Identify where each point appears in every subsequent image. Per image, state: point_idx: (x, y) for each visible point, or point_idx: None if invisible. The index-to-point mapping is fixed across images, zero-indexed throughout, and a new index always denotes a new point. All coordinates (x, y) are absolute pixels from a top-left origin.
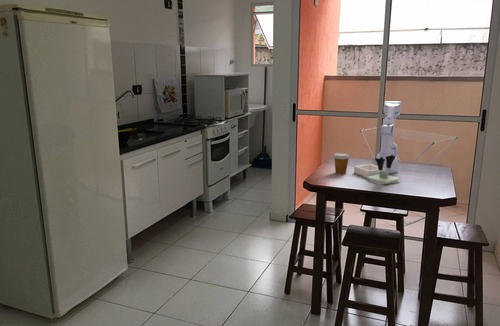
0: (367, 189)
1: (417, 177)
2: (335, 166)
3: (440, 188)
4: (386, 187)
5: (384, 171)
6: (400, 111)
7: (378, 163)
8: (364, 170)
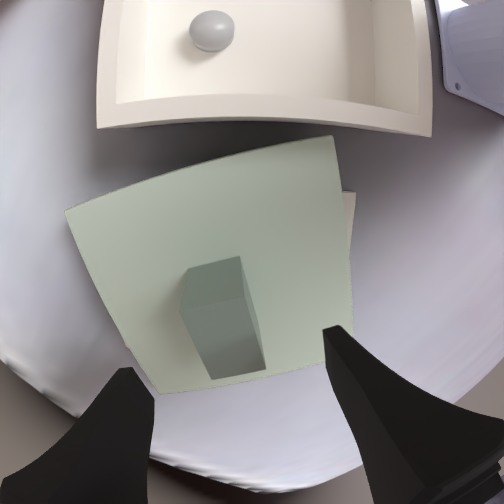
0: (26, 367)
1: (498, 278)
2: None
3: None
4: None
5: (236, 340)
6: None
7: (83, 447)
8: (103, 47)
